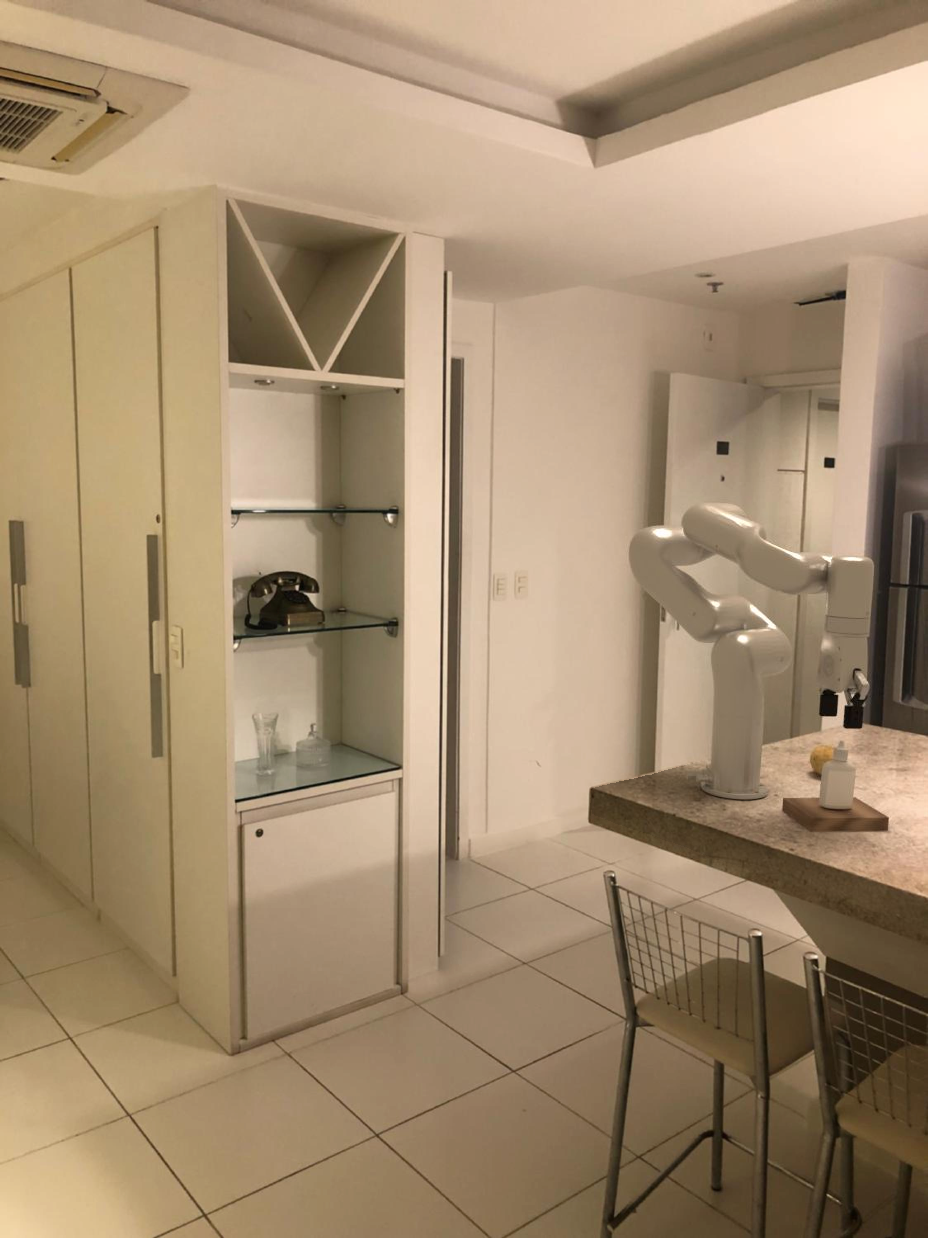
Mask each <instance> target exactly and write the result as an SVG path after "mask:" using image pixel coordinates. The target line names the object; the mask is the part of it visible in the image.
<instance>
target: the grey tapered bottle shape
mask: <svg viewBox="0 0 928 1238" xmlns="http://www.w3.org/2000/svg"><path fill="white" fill-rule="evenodd" d="M845 746H846V745H845V741H844V740H839V742H838V745H836V746H835V747H834V752H833V760H831V761H828V762H826V763H824V765H823V768H822V775H820V776H821V777H820V787H819V797H818V798H819V804H820V805H821V806H823V807H825V808H830V809H850V808H852V804H853V797H854V791H855V784H856V783H855V781H856V773H857V772H856V769H857V768H856V766H855V765H854V764H853V763H851V762H849V761H848V759H849V758H848V756H849V749H848V748H847V747H845Z"/></svg>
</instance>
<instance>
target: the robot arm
mask: <svg viewBox="0 0 928 1238" xmlns="http://www.w3.org/2000/svg"><path fill="white" fill-rule="evenodd" d="M717 555H718V556H720V557H723V558H725V559H727V560H729V561H730V562H732V563H735V564H737V565H738V566H739V568H740V570H741V571H742V572H743V573H744V574H745V575H746V576H747V577H749V578H750V579H751V580H753V581H755V582H757V583H759V584H761V585H763V586H765V587H767V588H769V589H772V590H773V591H776V592H778V593H781V594H784V595H787V596H788V595H789V596H796V595H797V596H800V595H819V594H820V595H821V594H825V595H826V596H825V611H824V621H823V622H824V624H823V635H822V640H821V645H820V651H819V659H818V666H817V677H816V678H817V679H816V680H817V683H818V685H820V687H819V694H820V695H819V707H818V710H819V711H818V715H819V716H820V717H822V718H823V717H825V718H826V717H837V715H838V710H839V709H838V708H839V707H838V706H839V697H840V696H839V694H841V693H844V697H845V701H846V704H845V705H844V708H843V709H844V710H843V722H842V724H843V725H842V727H843V728H844V729H845V730H846V729H847V730H852V729H853V730H861V729H863V725H864V724H863V723H864V710H865V709H864V707H866V701H867V699H868V693H869V690H870V687H871V685H870V683H869V681H868V680H867V679H868V658H869V657H868V656H869V655H868V653H869V652H868V651H869V650H868V637H870V630H871V613H872V604H873V603H872V601H873V589H874V574H875V564H874V561H873V559H871V558H870V557H867V556H860V555H838V554H834V553H833V554H832V553H828V552H821V551H819V552H818V551H815V552H813V551H812V552H811V551H809V552H808V551H806V552H805V551H804V552H801V551H800V552H798V551H797V552H794V551H793V552H792V551H789V550H786V549H784V548H781V547H779V546H777V545H775V544H772V543H770V542H769V541H767V533H766V529H765V528H764V526H763V525H762V524H760V523H757V522H756V521H753V520H750V519H748V515H747V514H746V512H745V511H744V510H743V508H741V507H740V506H738V505H736V504H734V503H727V502H700V503H696V504H694V505H692V506H690V507H689V508H687V509H686V510H685V512H684V514H683V516H682V518H681V523H680V525H668V524H667V525H663V524H661V525H651V526H648V527H644V528H642V529H640V530H639V531H637V532H636V533H635V534H634V536H633V537H632V538H631V540H630V542H629V545H628V560H629V566H630V570H631V572H632V574H633V577H634V578H635V580H636V582H637V583H638V584H639V586H641V588H642V589H643V590H644V591H645V592H646V593H647V594H648V595H649V596H651V598H653V599H654V600H655V601H656V602H657V603H658V604H659V605H660V606H661V607H662V608H663V609H664V610H665V611H666V612H667V613H668V614H669V615H670V617H671V618H672V619H673V620H675V621H676V623H678V625H679V626H680V627H681V628H682V629H684V631H685V632H686V633H687V634H688V635H689V636H690V637H691V638H693V639H694V640H695V641H696V642H699V643H703V644H713V646H712V649H711V654H710V663H711V670H712V671H711V672H712V678H713V706H712V709H713V710H712V713H713V714H712V717H713V718H712V727H711V728H712V730H711V731H712V732H711V750H710V751H711V752H710V764H705V768H701V770H696V769H686V770H685V774H684V776H685V780H687V781H695V782H696V783H701V784H700V788H701V789H702V791H704V792H705V793H708V794H710V795H712V796H715V797H719V798H720V797H721V798H723V799H724V798H726V799H733V800H756V799H757V800H758V799H761V798H762V799H763V798H764V797H766V796H767V795H768V789H769V788H768V786H767V785H765V784H763V783H762V782H761V770H762V767H761V766H762V753H763V738H764V737H763V735H764V718H765V697H764V694H763V689H762V686H761V683H760V678H766V677H772V676H776V675H779V674H781V673H783V672H784V671H786V670H787V669H788V668H789V667H790V666H791V663H792V662H793V661H792V660H793V657H794V656H793V655H794V652H793V651H794V650H793V647H792V644H791V641H790V640H789V638H788V637H787V635H786V634H785V633H784V631H782V630H781V628H780V627H779V626H777V625H776V624H775V623H774V622H773V621H772V620H771V619H770V618H769V617H768V616H767V615H766V614H765V613H763V611H761V609H759V608H758V607H757V606H756V605H754V603H752V602H751V601H750V600H748V599H747V598H745V597H743V596H740V595H738V594H737V595H736V594H713V593H711V592H710V591H708V590H707V589H705V588H704V587H703V586H702V585H701V584H700V583H699V582H698V581H697V580H696V579H695V578H694V577H692V576H691V575H690V574H688V573H687V572H686V571H683V570H681V569H680V568H678V567H681V566H685V567H686V566H692V565H693V566H694V565H697V564H699V563H702V562H704V561H706V560H708V559H710V558H713V557H714V556H717ZM837 693H839V694H837Z"/></svg>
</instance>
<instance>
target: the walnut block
mask: <svg viewBox="0 0 928 1238" xmlns="http://www.w3.org/2000/svg"><path fill="white" fill-rule="evenodd" d="M781 809H782V811H783V812H784V813H785V814H787V815H788V816H789V817H791V818H792V819H794V820H795V821H796V822H797V823H799V824H801V825H802V826H803V827H805V828H806V829H807V830H809V831H810V832H849V831H850V832H853V831H854V832H855V831H856V832H857V831H858V832H859V831H861V832H863V831H865V832H866V831H867V832H868V831H870V832H871V831H874V832H875V831H876V832H877V831H889V821H890V820H889V819H890V817H889V816H888V815H885V814H884V813H882V812H881V811H879V810H877V809H876V808H874V807H872V806H871V805H869V804H867V803H866V802H864V801H862V800H861V799H860V798H857V797H854V796H853V804H852V808H850V809H830V808H825V807H823V806H821V805H820V804H819V797H783V798H782V808H781Z"/></svg>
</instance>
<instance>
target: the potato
mask: <svg viewBox="0 0 928 1238" xmlns="http://www.w3.org/2000/svg"><path fill="white" fill-rule="evenodd" d="M834 748H835V747H834V746H833V745H827V744H825V745H819V746H816V747H815V748H814V749H813V750H812V752H811V753H810V756H809V762H810V765H811V769H813V770H814V771H815V772H816V773H817V774H818V775H820V776H822V768H823V765H824V763H826V762H828V761H831V760H833V752H834Z"/></svg>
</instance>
